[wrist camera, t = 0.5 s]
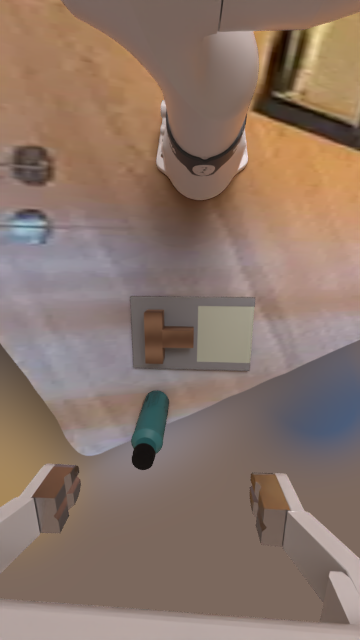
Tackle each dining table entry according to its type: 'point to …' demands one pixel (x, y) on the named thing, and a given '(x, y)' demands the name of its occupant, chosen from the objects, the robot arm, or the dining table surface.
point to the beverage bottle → (149, 429)
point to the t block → (163, 336)
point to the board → (199, 331)
